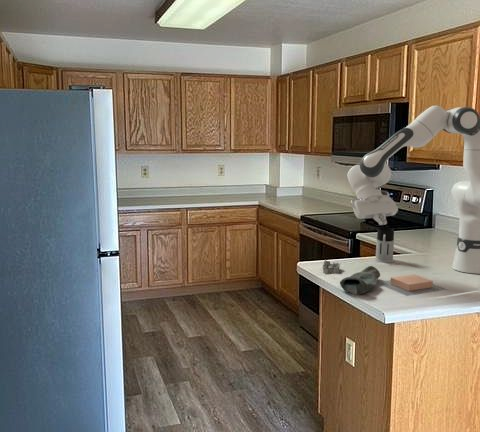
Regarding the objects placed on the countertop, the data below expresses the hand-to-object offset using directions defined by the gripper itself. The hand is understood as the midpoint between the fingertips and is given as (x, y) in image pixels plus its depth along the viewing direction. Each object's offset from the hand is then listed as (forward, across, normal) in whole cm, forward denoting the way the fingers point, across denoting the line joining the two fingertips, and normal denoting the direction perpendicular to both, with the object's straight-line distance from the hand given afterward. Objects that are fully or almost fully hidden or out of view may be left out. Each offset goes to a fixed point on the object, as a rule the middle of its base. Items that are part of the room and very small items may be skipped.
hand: (383, 224), depth 210 cm
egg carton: (+5, -16, +26) cm, 30 cm away
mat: (+28, -1, +3) cm, 28 cm away
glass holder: (+3, +16, +29) cm, 33 cm away
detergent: (+23, -17, +9) cm, 30 cm away
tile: (+23, -1, +5) cm, 24 cm away
